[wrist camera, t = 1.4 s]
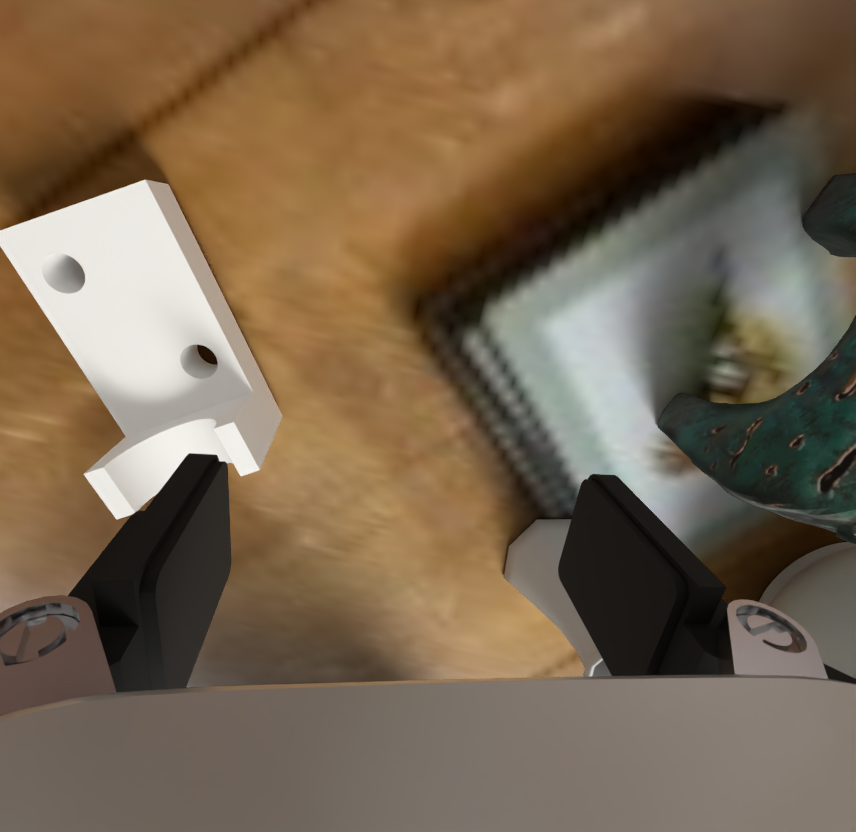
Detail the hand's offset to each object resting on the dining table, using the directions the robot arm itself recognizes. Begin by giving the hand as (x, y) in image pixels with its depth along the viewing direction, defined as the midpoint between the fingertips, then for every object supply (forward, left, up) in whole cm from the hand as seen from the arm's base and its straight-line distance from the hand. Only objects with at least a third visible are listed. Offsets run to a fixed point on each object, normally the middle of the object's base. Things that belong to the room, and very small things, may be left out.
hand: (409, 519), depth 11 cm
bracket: (0, -12, -18) cm, 22 cm away
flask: (+15, +14, -18) cm, 27 cm away
